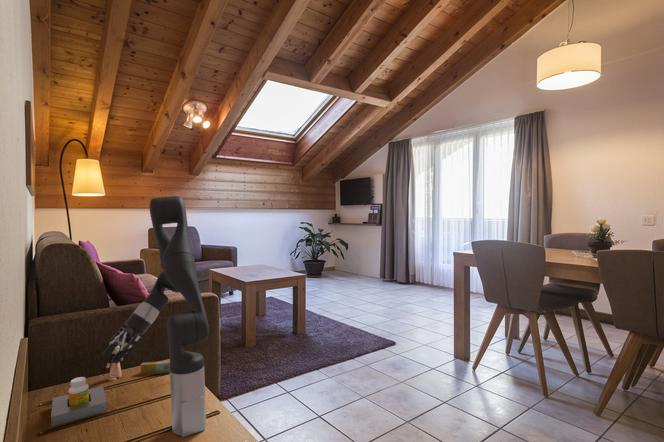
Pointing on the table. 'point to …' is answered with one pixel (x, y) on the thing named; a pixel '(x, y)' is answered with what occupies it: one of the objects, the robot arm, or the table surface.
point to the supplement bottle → (78, 391)
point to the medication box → (155, 367)
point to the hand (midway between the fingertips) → (109, 359)
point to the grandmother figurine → (114, 366)
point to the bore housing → (78, 407)
